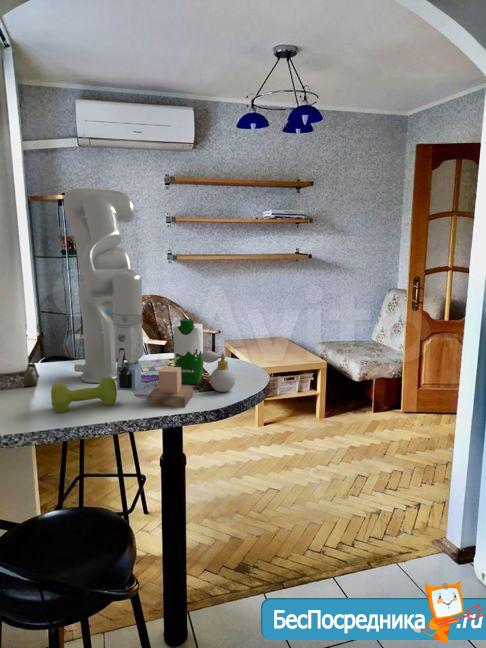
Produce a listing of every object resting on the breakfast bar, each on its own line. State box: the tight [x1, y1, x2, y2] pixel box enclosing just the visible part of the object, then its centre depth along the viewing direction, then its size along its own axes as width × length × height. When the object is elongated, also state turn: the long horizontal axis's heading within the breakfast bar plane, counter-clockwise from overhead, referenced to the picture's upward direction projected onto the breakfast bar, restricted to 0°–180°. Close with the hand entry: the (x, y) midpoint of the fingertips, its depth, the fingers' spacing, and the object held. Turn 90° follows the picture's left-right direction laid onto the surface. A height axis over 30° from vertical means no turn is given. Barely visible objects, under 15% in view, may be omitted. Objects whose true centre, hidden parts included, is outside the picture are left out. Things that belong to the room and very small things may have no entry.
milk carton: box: [173, 318, 204, 385], centre depth 149 cm, size 9×9×20 cm
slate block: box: [116, 363, 142, 392], centre depth 129 cm, size 5×5×6 cm
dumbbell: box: [50, 377, 118, 414], centre depth 127 cm, size 16×8×7 cm, turn 115°
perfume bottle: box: [201, 350, 236, 393], centre depth 140 cm, size 8×10×12 cm
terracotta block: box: [158, 366, 182, 393], centre depth 131 cm, size 5×5×6 cm
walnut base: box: [147, 383, 193, 408], centre depth 132 cm, size 10×10×3 cm
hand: (129, 383), depth 129 cm, fingers closed on slate block, 5 cm apart
